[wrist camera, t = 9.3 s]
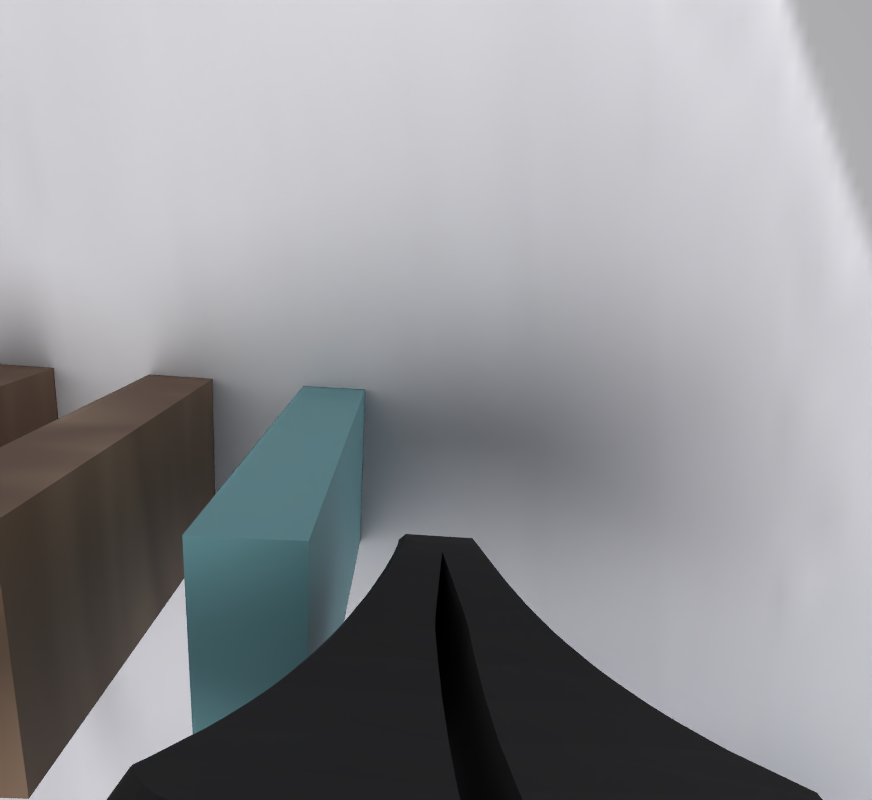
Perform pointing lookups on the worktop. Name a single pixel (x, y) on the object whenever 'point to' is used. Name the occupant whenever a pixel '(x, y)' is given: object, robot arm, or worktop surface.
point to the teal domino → (275, 553)
